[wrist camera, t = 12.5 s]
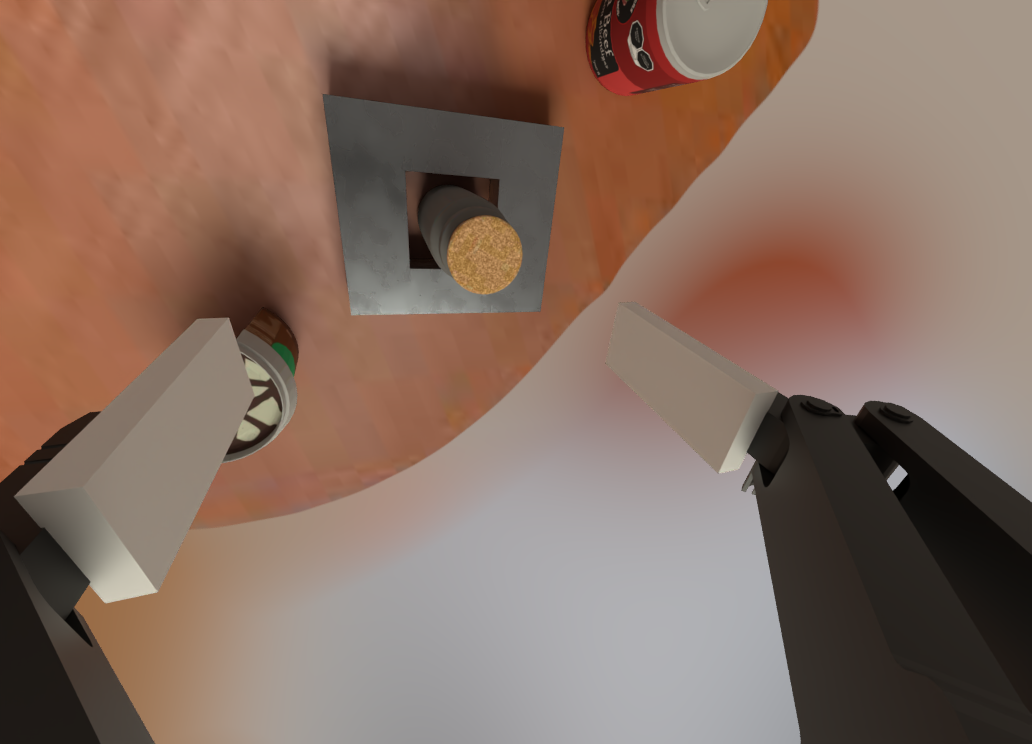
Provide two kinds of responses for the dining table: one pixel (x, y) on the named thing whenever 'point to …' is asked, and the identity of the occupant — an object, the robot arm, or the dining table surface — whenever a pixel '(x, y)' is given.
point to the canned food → (668, 41)
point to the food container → (266, 383)
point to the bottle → (470, 239)
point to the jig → (442, 150)
